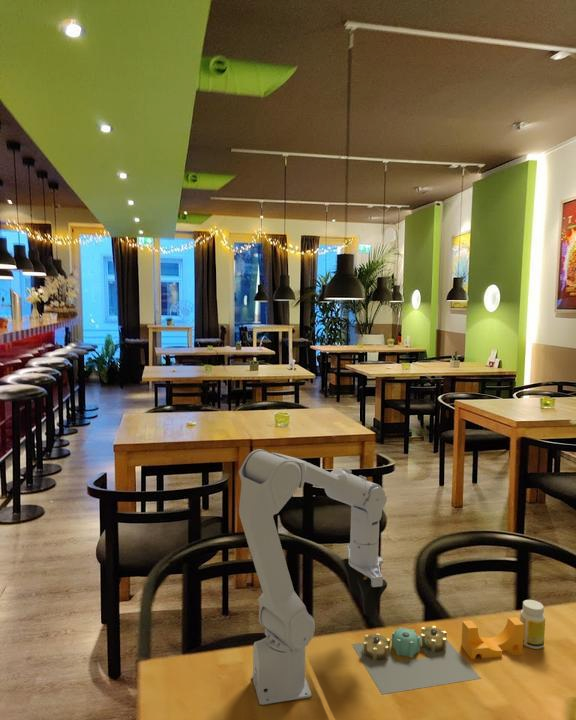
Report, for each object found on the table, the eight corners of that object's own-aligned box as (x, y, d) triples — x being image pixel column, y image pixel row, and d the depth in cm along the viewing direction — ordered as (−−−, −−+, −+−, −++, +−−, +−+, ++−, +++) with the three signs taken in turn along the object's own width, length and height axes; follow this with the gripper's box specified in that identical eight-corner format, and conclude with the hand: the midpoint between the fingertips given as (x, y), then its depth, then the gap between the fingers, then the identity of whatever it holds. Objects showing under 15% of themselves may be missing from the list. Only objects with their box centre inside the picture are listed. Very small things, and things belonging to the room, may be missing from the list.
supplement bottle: (548, 644, 112) (550, 606, 112) (535, 652, 110) (537, 613, 109) (527, 633, 116) (529, 596, 116) (514, 640, 114) (516, 602, 113)
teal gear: (399, 663, 105) (400, 643, 105) (388, 647, 111) (388, 628, 110) (422, 660, 107) (423, 640, 106) (410, 644, 112) (411, 625, 111)
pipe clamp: (471, 664, 106) (472, 633, 105) (461, 651, 110) (462, 621, 110) (527, 659, 108) (529, 629, 107) (515, 646, 112) (516, 617, 111)
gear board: (381, 699, 95) (382, 678, 95) (351, 648, 110) (352, 630, 109) (481, 683, 100) (482, 662, 100) (439, 636, 115) (440, 618, 114)
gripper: (398, 552, 102) (395, 620, 103) (369, 524, 116) (367, 584, 118) (363, 556, 101) (361, 625, 102) (338, 526, 115) (336, 587, 116)
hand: (362, 603), depth 110 cm, fingers open, 7 cm apart
